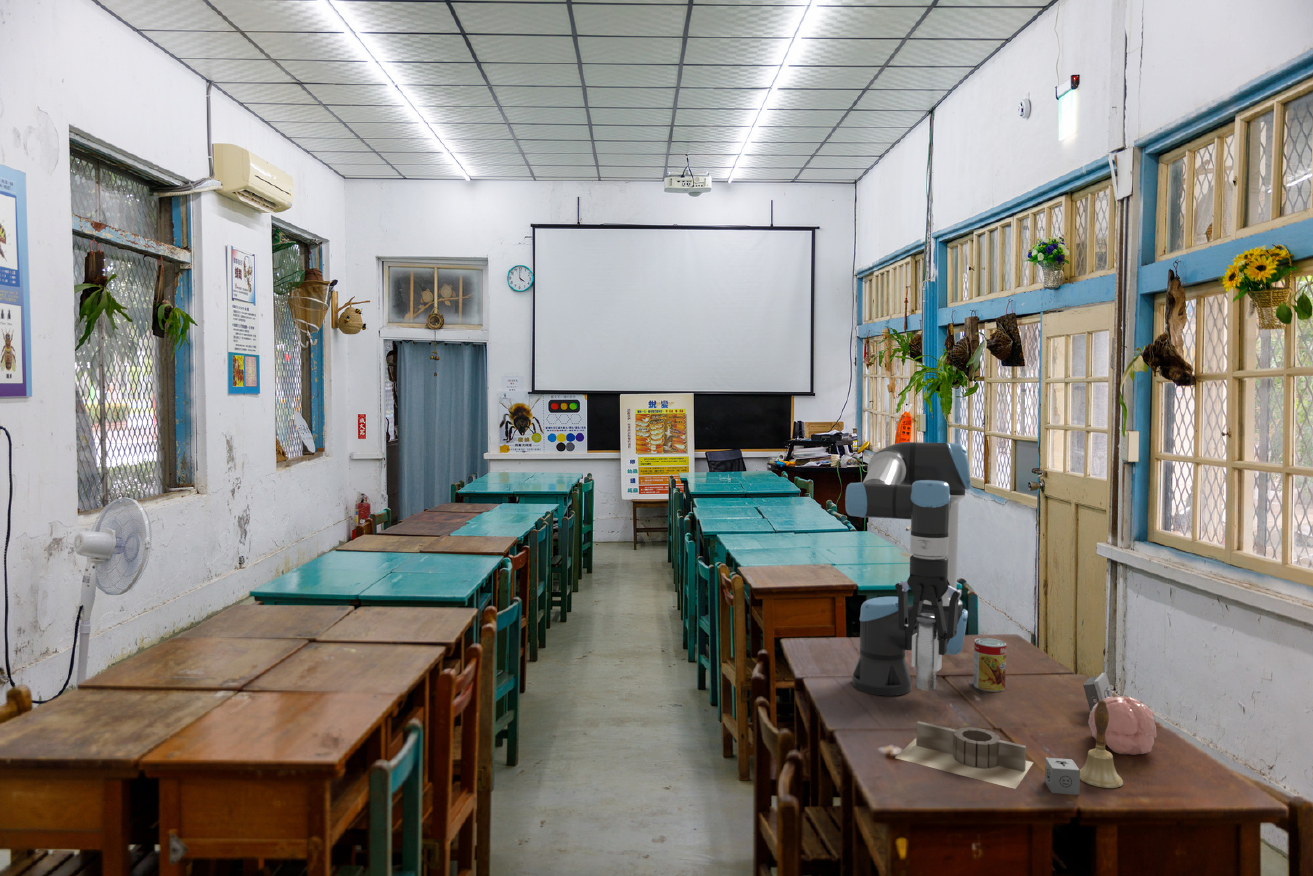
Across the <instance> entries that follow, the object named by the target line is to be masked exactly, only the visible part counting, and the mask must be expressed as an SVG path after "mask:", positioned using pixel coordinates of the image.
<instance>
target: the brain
mask: <svg viewBox="0 0 1313 876" xmlns="http://www.w3.org/2000/svg"><path fill="white" fill-rule="evenodd" d="M1103 701H1105V702H1106V706H1107V709H1108V713H1109V722H1108V726H1107V729H1106V732H1105V746H1107V747H1108V748H1109V749H1110V750H1112V752H1113V753H1117V754H1119V755H1130V756H1136V755H1144V754H1148V753H1150V752H1151V751H1152V749H1153V748H1152V747H1153V746H1154V743H1155V738H1157V737H1158V734H1157V726H1156V723H1155V719H1154V717H1155V714H1154V712H1153V711H1152V710H1151V708H1150V707H1149V706H1147V705H1146V704H1145V703H1142V702H1141V701H1139V700H1138V699H1136V698H1134V697H1132V696H1129V697H1128V696H1126V695H1125V696H1124V695H1123V696H1113V697H1107V698H1105V699H1103ZM1097 705H1098V703H1097V704H1095V706H1094V707H1093V709H1092V711H1091V712H1090V711H1089V716H1088V721H1087V722H1088V726H1089V729H1090V730H1091V736H1092V738H1094V739H1095V740H1096V737H1097V729H1096V725H1095V719H1094V715H1095V709H1096V707H1097Z"/></svg>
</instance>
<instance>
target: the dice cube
mask: <svg viewBox="0 0 1313 876" xmlns="http://www.w3.org/2000/svg"><path fill="white" fill-rule="evenodd" d="M1044 758H1045V762H1044V783H1045V784H1046V786H1047V788H1048V790H1050V793H1051V794H1060V795H1061V794H1062V795H1074V796H1079V795H1080V781H1081V780H1080V770H1081V769H1080V768H1079V767H1078V766H1077V764H1076V762H1075V761H1074V760H1073V759H1070V758H1058V757H1044Z"/></svg>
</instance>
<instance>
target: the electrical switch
mask: <svg viewBox="0 0 1313 876" xmlns="http://www.w3.org/2000/svg"><path fill="white" fill-rule="evenodd" d="M1109 681H1110V680H1109V677H1108V675H1107V673H1106V672H1101V673H1100V675H1097V676H1090V677H1088V678H1087V680H1086V681H1085V682H1084V683H1083V686H1082V687H1083V690H1084V694H1085V697H1086V701H1087V705H1088V709H1089V713H1090V712H1091V711H1092V709H1093V707H1094V706H1095V705H1096V704H1097V703H1098V701H1099V700H1103V699H1105V698H1107V697H1114V696H1113V691H1112V688H1111V684H1110V682H1109Z"/></svg>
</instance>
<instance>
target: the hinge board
mask: <svg viewBox="0 0 1313 876" xmlns="http://www.w3.org/2000/svg"><path fill="white" fill-rule="evenodd" d="M1001 739H1002V738H1001V737H1000V736H999V735H998V734H997V733H995V732H994V731H991V730H988V729H984V728H980V727H971V726H970V727H968V726H967V727H960V728H957V729H954V728H950V727H945V726H941V725H937V724H932V723H927V722H924V721H917V722H916V733H915V738H914V739H913V740H912V741H911V742H910V743H908V744H907V745H906V747H904V748H903V749H902V750H901V751H900V752H899V753H898V754H897V755H896V756H895V757H894V759H897V760H902V761H905V762H909V763H913V764H917V765H919V766H923V767H928V768H932V769H935V770H939V771H944V772H947V773H951V774H955V775H958V776H959V775H960V776H963V777H966V778H971V779H975V780H979V781H982V782H986V783H990V784H994V785H999V786H1001V787H1005V788H1009V789H1013V790H1017V788H1018V787H1019V785H1020V783H1021V782H1022V781H1023V779H1024V778H1025V776H1026V775H1027V774H1028V771H1029V770H1030V769H1031V767H1032V766H1033V764H1034V762H1033V761H1030V760H1026V758H1027V745H1023V744H1019V743H1016V742H1015V743H1014V742H1011V741H1006V740H1003V739H1002V740H1001Z"/></svg>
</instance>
